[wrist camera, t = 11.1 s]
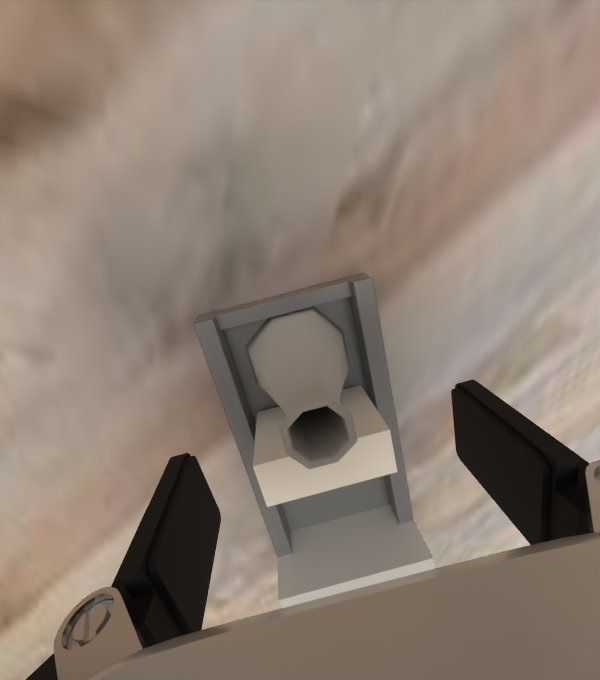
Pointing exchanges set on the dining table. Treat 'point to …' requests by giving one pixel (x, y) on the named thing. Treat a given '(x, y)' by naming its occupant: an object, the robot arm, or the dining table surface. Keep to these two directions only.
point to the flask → (305, 383)
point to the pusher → (355, 466)
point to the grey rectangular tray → (338, 504)
